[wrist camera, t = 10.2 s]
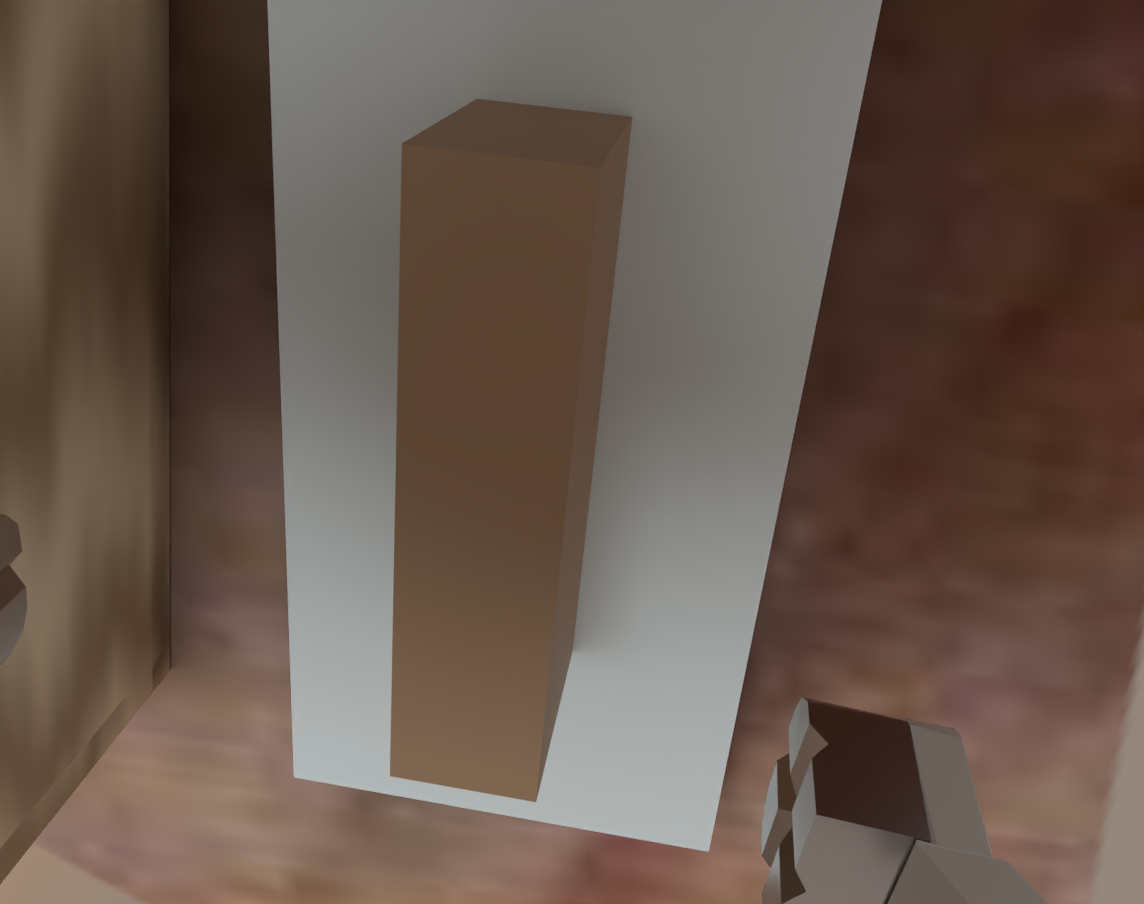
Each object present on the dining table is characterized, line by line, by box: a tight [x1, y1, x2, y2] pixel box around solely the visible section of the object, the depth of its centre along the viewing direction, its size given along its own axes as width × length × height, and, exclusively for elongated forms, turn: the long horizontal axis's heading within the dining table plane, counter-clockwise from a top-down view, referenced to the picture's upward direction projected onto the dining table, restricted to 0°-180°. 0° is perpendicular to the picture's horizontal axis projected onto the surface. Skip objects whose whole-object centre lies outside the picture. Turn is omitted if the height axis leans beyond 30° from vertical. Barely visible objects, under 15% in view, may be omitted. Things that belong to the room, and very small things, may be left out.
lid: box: [267, 0, 882, 852], centre depth 18 cm, size 19×9×6 cm, turn 175°
